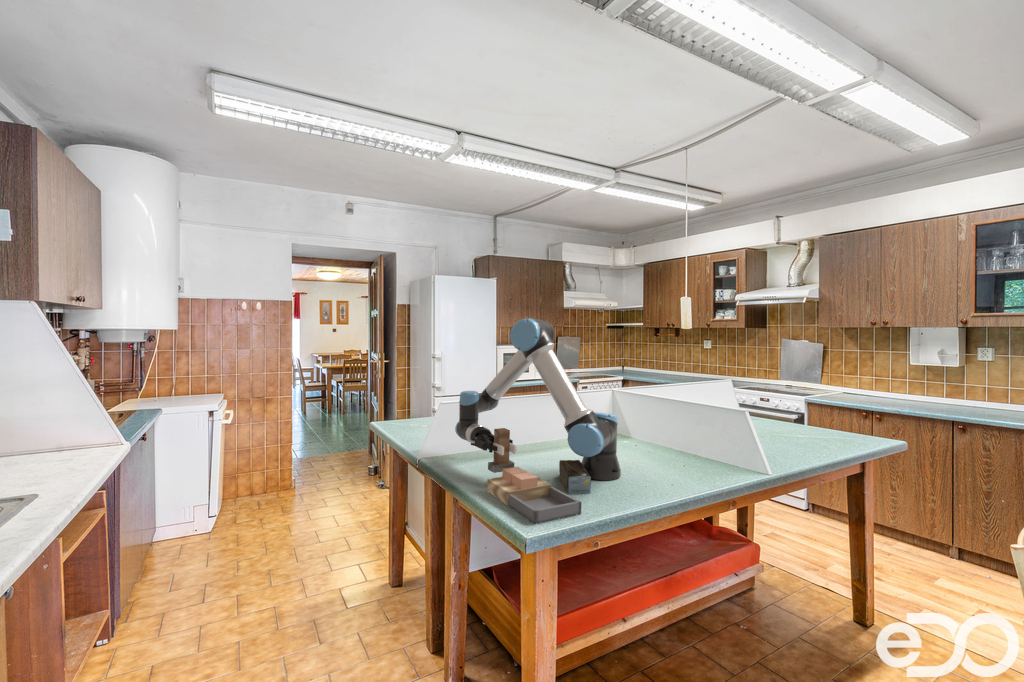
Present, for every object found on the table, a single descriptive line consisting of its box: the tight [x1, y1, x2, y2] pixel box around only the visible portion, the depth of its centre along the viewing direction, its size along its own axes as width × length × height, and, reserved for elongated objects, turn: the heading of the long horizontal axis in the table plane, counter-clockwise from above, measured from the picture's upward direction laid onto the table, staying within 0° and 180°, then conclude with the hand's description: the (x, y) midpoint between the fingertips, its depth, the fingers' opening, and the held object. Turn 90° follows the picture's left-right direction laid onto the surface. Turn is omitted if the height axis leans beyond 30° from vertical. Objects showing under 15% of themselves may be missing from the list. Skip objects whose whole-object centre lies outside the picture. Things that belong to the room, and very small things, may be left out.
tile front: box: [512, 471, 539, 489], centre depth 151 cm, size 6×6×3 cm
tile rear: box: [501, 466, 528, 483], centre depth 157 cm, size 6×6×3 cm
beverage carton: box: [558, 459, 592, 494], centre depth 166 cm, size 8×19×7 cm, turn 3°
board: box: [486, 476, 553, 506], centre depth 154 cm, size 14×16×4 cm
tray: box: [507, 486, 582, 525], centre depth 141 cm, size 15×16×4 cm
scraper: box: [487, 427, 515, 474], centre depth 164 cm, size 4×8×14 cm, turn 120°
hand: (509, 450), depth 160 cm, fingers closed on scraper, 4 cm apart
